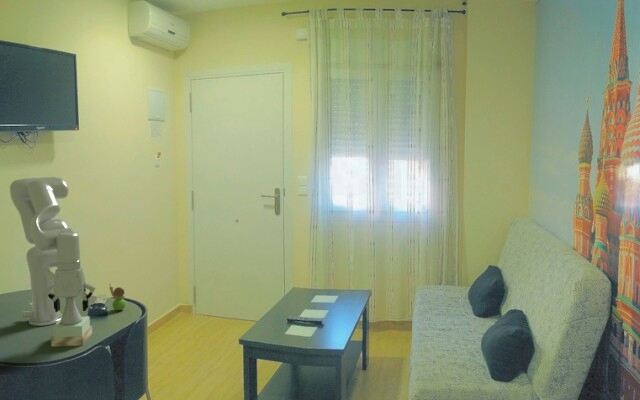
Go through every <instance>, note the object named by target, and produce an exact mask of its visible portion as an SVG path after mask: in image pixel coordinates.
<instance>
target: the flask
mask: <svg viewBox="0 0 640 400" xmlns="http://www.w3.org/2000/svg"><path fill="white" fill-rule="evenodd" d="M64 298H65V300H66V302H65V306H64V307H65V308H64V310H63V313H62V315H63V316H62V318H61V321H60V323H62V324H64V325H72V324H76V323H79V322H80V321H82V320H83V319H82V317H83V316H82V315H81V313H80V311H79V309H78V307H77V304H76V302H75V298H76V297H64Z"/></svg>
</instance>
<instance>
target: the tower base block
mask: <svg viewBox="0 0 640 400" xmlns="http://www.w3.org/2000/svg"><path fill="white" fill-rule="evenodd" d="M92 335H93V326H92V325H90V327H89V328H88V330H87V331H86V332H85V334H84V335H83V336H82V337H60V338H53V336H51V337H50V343H51V347H73V346H76V347H77V346H78V347H79V346H84V345H85V344H86V342H87V341H88V340H89V339H90V337H91V336H92Z"/></svg>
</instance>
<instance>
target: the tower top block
mask: <svg viewBox="0 0 640 400" xmlns="http://www.w3.org/2000/svg"><path fill="white" fill-rule="evenodd" d="M81 317H82V319H83V320H82V321H80V322H79V323H76V324H72V325H64V324H62V323H60V321H61V319H60V320H59V321H58V322H57V323H54V325H53V326H52V337H53V338H60V337H82V336H83V335H84V334H85V332H86V331H87V330H88V328H89V327H90V326H91V323H90V322H91V321H90V316H89V315H88V316H81Z"/></svg>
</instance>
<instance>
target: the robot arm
mask: <svg viewBox="0 0 640 400" xmlns="http://www.w3.org/2000/svg"><path fill="white" fill-rule="evenodd" d="M9 193H10V198H11V200H12V203H13V205H14V207H15V209H16V210H17V211H18V214H19V216H20V220H21V222H22V223H21V224H22V227H23V231H24V236H25V239H26V241H27V243H28V244H31V245H34V246H33V247H30V248H29V249H28V250H27V252H26V254H25V255H26V257H25V258H26V262H27V266H28V269H29V277H30V278H29V279H30V290H31V305H32V307H31V310H30V311H29V310H23V311H22V316H23V318H29V319H28V323H29V325H31V326H33V327H34V326H35V327H42V326H49V325H50V326H51V325H53V324H54V325H55V324H56V323H57V322H58V321H59V320H60V319H61V318H62V316H63V313H60V310H61V300H60V298H65V297H75V298H79V297H80V298H81V299H82V312H86V310H87V309H89V299H90V298H91V297H92V295H94V292H95V290H96V287H95V286H92V285H90V284H89V283H86V278H85V272H84V270H83V267H81V254H80V253H81V251H80V236H79V233H78V232H76V231H75V230H74V229H72V228H70V227H68V224H67V223H66V221H65V220H63V219H61V218H56V217H57V216H58V215H59V213H60V212H61V206H60V204H59V201H58V199H65V198H67V196H68V195H69V186H68V184H67V182H66V181H65V180H64V178H61V177H55V176H54V177H53V176H49V177H48V176H47V177H28V178H19V179H16V180H13V181H12V182H11V184H10V186H9ZM53 268H56V269H55V270H54V272H53V271H52V270H50V269H53ZM87 290H89V293H87Z"/></svg>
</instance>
